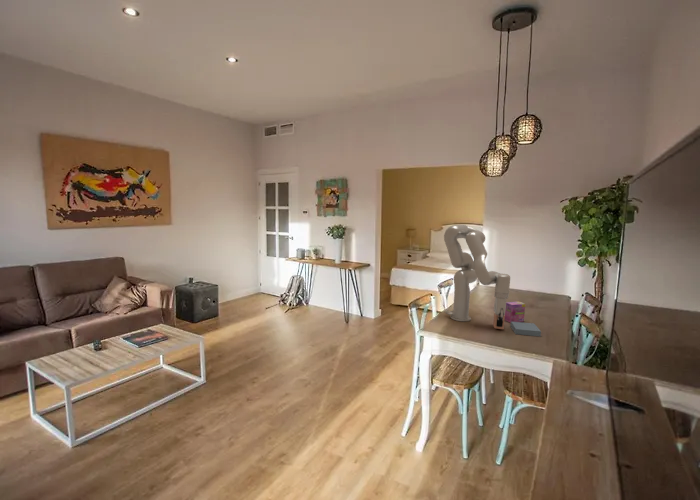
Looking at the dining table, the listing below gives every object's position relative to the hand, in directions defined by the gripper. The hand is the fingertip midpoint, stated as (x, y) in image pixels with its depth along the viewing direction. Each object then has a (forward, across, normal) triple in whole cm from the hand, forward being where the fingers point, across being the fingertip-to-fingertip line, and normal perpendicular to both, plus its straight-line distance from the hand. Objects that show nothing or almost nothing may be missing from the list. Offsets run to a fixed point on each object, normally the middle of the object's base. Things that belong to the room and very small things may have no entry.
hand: (498, 324), depth 214 cm
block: (+2, 0, 0) cm, 2 cm away
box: (+3, -19, +13) cm, 23 cm away
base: (+2, 0, +15) cm, 15 cm away
